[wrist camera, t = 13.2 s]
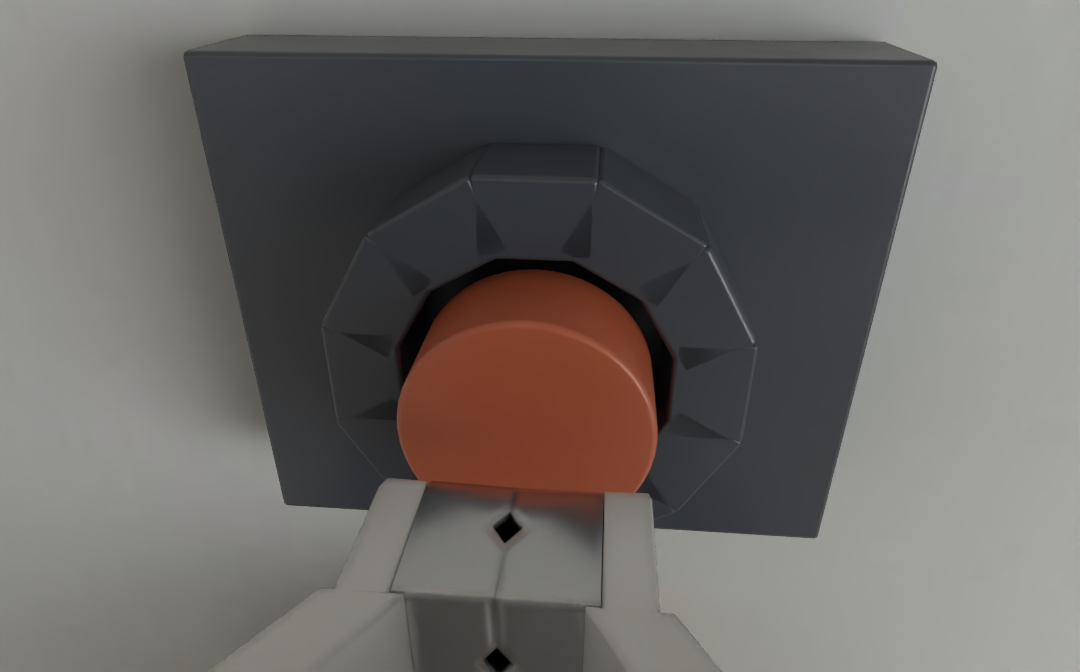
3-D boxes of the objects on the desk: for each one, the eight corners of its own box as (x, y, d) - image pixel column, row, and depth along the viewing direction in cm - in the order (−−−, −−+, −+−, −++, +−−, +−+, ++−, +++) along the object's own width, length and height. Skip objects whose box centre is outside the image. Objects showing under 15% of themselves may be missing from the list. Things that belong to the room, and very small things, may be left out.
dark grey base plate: (320, 442, 17) (245, 572, 14) (245, 34, 13) (104, 70, 9) (794, 469, 16) (844, 615, 13) (888, 41, 12) (1003, 83, 8)
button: (432, 456, 12) (407, 529, 11) (415, 262, 11) (381, 316, 9) (643, 468, 12) (648, 544, 10) (661, 271, 10) (669, 328, 9)
